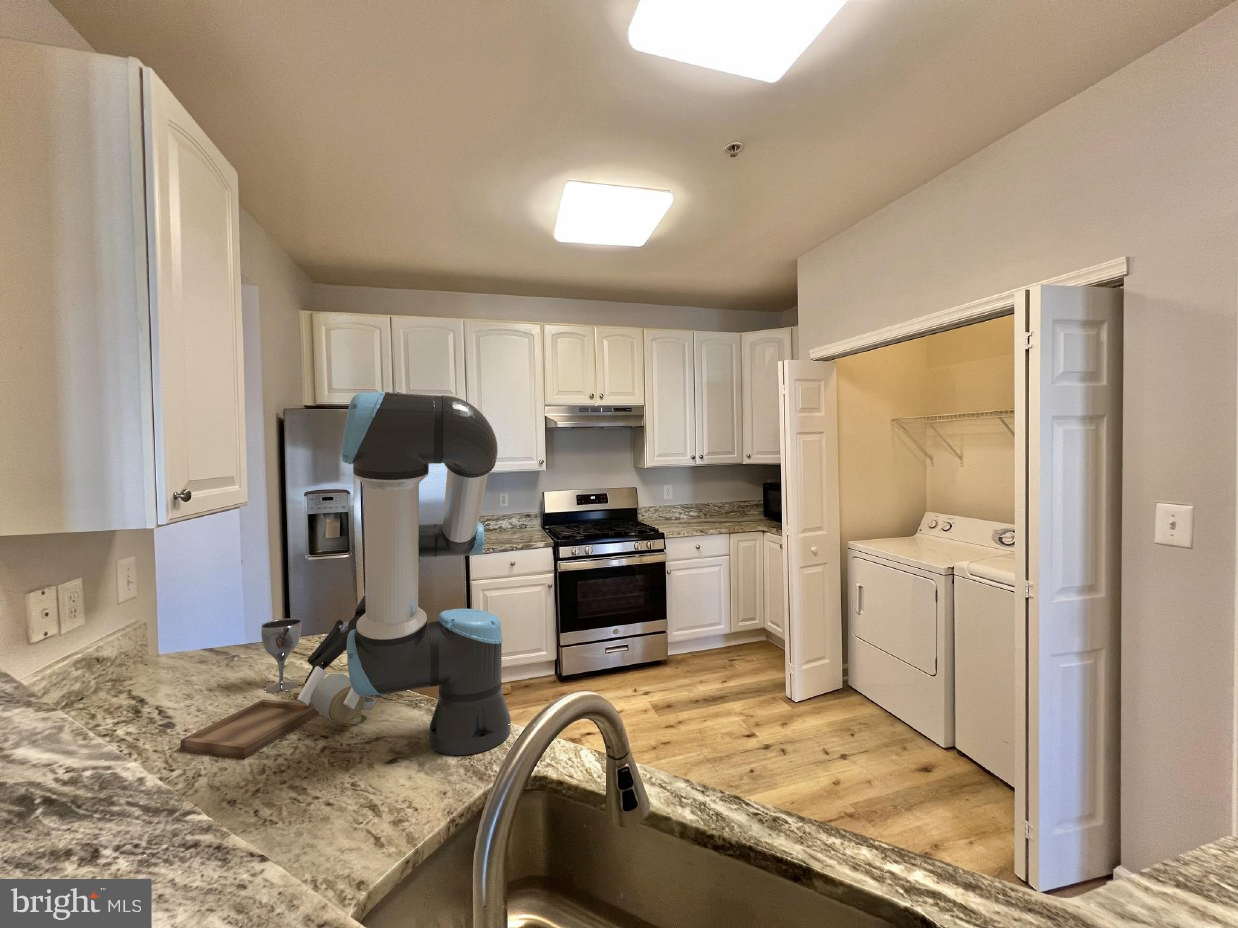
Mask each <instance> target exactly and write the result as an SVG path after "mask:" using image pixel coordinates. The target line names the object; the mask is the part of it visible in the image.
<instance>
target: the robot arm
mask: <svg viewBox="0 0 1238 928" xmlns="http://www.w3.org/2000/svg"><path fill="white" fill-rule="evenodd" d="M342 438H343V440H342V446H341V447H342V448H341V450H342V454H341V455H342V456H341V459H342V462H343V463H345V464H347V465H352V466H353V467H352V471H353V476H354V477H355V478H356V479H357V480H359V481H360V482H361V483H362V485H363V493H364V494H363V502H364V504H363V505H364V508H363V510H364V512H363V514H364V515H363V516H364V519H363V520H364V521H363V523H364V574H365V575H364V576H365V577H364V580H365V581H364V583H365V592H364V595H363V596H362V597H361V599H360V601H359V603H358V605H357V606H356V608H355V610H354V611H355V613H354V615H353V617H352V618H351V619H350V620H349V621H343V620H342V619H338V620H337V621H336V622H335V624H334V625H333V627H332V630H330V632H329V633H328V634H327V635H326V636H325V638H324V639H323V640H322V641H321V642H320V644H319V645H318V646H317V647H316V648H315V650H314V651H313V652H312V653H311V654H310V656H309V657H308V658H307V660H306V662H307V663H308V664H309V665H310V666H312V668H311V669H310V671H309V673H308V675H307V676H306V678H305V680H304V684H305V685H304V687H303V688H302V690H301V691H300V693H299V695H298V697H297V698H296V700H297V701H299V703H303V704H304V705H309V704H311V703H310V702H312V694H313V691H314V689H315V687H316V686H317V684H318V683H319V682H320V681H321V680H322V679H324V678H325V677H326V674H327V672H326V669H327V668H328V667H329V666H330V665H331V664H332V663H333V662H334V661H335V660H337V658H338V657H340V656H341V655H342V654H343V653H345V651H346V656H347V661H346V662H347V671H348V677H349V678H350V682H351V686H352V687H351V689H350V691H349V693H348V695H347V697H346V699H345V701H344V703H343V704H345V705H346V706H347V707H348V708H350V709H353V710H354V708H355V706H356V704H357V702H358V700H359V698H360V696H369V697H371V696H385V695H387V694H388V695H389V694H393V693H399V692H406V691H414V690H420V689H425V688H433V687H438V697H437V701H436V704H435V708H434V711H433V714H432V717H431V720H430V723H429V727H428V744H429V746H430V747H431V749H433V750H434V751H436V752H438V753H441V754H444V755H451V756H464V755H465V756H467V755H473V754H477V753H482V752H484V751H489V750H491V749H492V748H495V747H497V746H498V745H500V744H502V743H503V742H504V741H506V739H507V738H508V737H509V736H510V733H511V731H512V730H511V729H512V728H511V724H512V723H511V720H512V719H511V714H510V711H509V708H508V704H507V701H506V700H505V696H504V694H503V691H502V690H503V689H502V685H503V684H502V664H503V663H502V655H503V654H502V647H503V646H502V643H503V641H504V639H503V635H502V623H501V622H502V621H501V620H500V618H499V617H498V616H497V615H496V614H494V613H492V612H490V611H485V610H480V609H475V608H452V609H446V610H444V611H443V610H442V611H441V612H440V613H439V616H438V617H437V620H432V621H431V620H430V621H428V616H427V613H426V611H425V610H424V609H422V608H421V607H419V565H420V564H421V560H422V559H423V558H424V559H425V558H438V557H456V556H457V557H458V556H459V557H460V556H463V557H468V556H471V555H479V554H482V552H483V551H484V549H485V540H486V539H485V527H484V524H483V523H481V522H479V521H480V520H479V519H480V516H481V511H482V505H483V501H484V495H485V490H486V485H487V480H488V475H489V474H490V473H491V472H492V471H493V469H494V468H495V465H496V462H497V458H498V441H497V437H496V434H495V432H494V429H493V427H492V425H491V423H490V421H488V418H486V416H484V414H483V413H482V412H481V411H480V410H478V408H476V407H475V406H474V405H472V404H471V403H469V402H468V401H466V400H464V399H461V398H459V397H456V396H454V395H453V396H452V395H445V394H443V395H434V394H432V395H431V394H417V393H416V394H415V393H403V392H389V391H374V392H370V391H369V392H365V391H364V392H359V393H356V394H355V395H354V396H353V397H352V398H351V399H350V402H349V405H348V409H347V413H346V418H345V422H344V430H343V437H342ZM431 464H437V465H438V464H444V466H445V467H446V483H445V492H444V493H445V494H444V504H443V516H442V523H427V524H426V523H425V524H424V523H423V524H419V523H420V518H419V517H420V483H421V482H422V481H423V480H424V479H425V478H426V477H427V476H429V473H430V472H429V470H430V469H429V468H430V467H429V466H430V465H431ZM508 724H510V725H508Z"/></svg>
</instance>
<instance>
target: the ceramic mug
mask: <svg viewBox="0 0 1238 928" xmlns="http://www.w3.org/2000/svg"><path fill="white" fill-rule="evenodd" d="M351 687H352V686H351V682H350V678H349V676H347V675H346V674H344V673H332V674H329V675H327V676H324V678H323V679H322V680H321V681H320V682H319V683H318V684H317V686H316V687H315V689H314V691H313V694H312V699H311V704H312V705H313V707H314V709H315V710H316V711H318V712H319V713H320V715H322V717H325V718H326V719H327V720H329V721H331V722H332V723H335V724H345V723H348V722H350V721H352V720H354V719H356V717H357V716H358V715H359V714H360V713H361V712H362V711H372V710H373V709H374V708H375V706H376V703H377V701H376V699H374V698H373V697H371V696H360V698H359V700H358V702H357V704H356V706H355V708H354V710H353V709H350V708H348V707H347V706H346V705H345V704H343V703H344V701H345V699H346V697H347V695H348V693H349V691H350V689H351Z"/></svg>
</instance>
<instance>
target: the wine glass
mask: <svg viewBox="0 0 1238 928" xmlns="http://www.w3.org/2000/svg"><path fill="white" fill-rule="evenodd" d="M260 628H261V629H260V630H261V631H260V633H261V634H260V636H261V641H262V646H263V649H264V651H266V653H268V654H269V655H270V656H271V657H272V658H273V659H274V660H275V661H276V663H277V665H278V675H279V676H278V677H279V678H278V681H277V682H273V683H270V684H271V685H270V684H269V686H268V685H267V687H266V686H265V687H266V689H264V688H263V689H264V691H266V694H276V693H282V692H283V691H284V692H287V691H290V690H292V688H293V689H295V688H297V687H298V686H299V684H300V682H299V681H298V680H292V679H291V680H284V668H285V663H286V660H287V658H288V657H289V656H290V655H291V653H293V651H294V650H295V649H296V648H297V646H298V644H299V642H300V640H301V639H300V638H301V633H302V619H300V618H294V617H293V618H292V617H291V618H281V619H275V620H271V621H267V622H265V623H263V624H261V627H260Z"/></svg>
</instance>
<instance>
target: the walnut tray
mask: <svg viewBox="0 0 1238 928" xmlns="http://www.w3.org/2000/svg"><path fill="white" fill-rule="evenodd" d="M320 715H321V714H320V713H319V712H318V711H316V710H315V709H314V707H313V705H312V703H309V705H304V704H303V703H301V702H293V701H283V700H274V699H260V700H259V701H258V702H254V703H253V704H251V705H249V706H247V707H245V708H243V709H241V710H238V711H237V712H235V713H232V714H230V715H228V716H226V717H224V718H222V719H221V720H219V721H216V722H214V723H211V724H210V725H208V726H206V727H204V728H201V729H200V730H197V731H195V732H193V733H191V734H190V735H187V736H186V737H184V738H181V739H180V752H186V753H187V752H188V753H194V754H200V755H201V754H202V755H211V756H217V757H224V758H225V757H226V758H232V759H233V758H234V759H241V760H246V759H247V758H249V757H251V756H252V755H255V754H256V753H257V752H259V751H260V750H259V749H261V748H263V747H264V746H266V745H268V744H269V743H271V742H273V741H274V740H276V739H278V738H279V739H281V738H282V736H283V737H284V736H286V735H287V734H286V733H288V734H290V733H291V732H293V731H295V730H296V729H298V728H300V727H301V726H302V725H304V723H305V724H306V723H308V722H309V721H311V720H313V719H315V718H317V717H318V716H320ZM299 726H300V727H299ZM295 728H296V729H295ZM294 729H295V730H294ZM292 730H293V731H292ZM290 731H291V732H290ZM285 734H286V735H285ZM280 737H281V738H280ZM279 739H278V740H279ZM276 741H277V740H276ZM274 742H275V741H274ZM274 742H273V743H274ZM271 744H272V743H271ZM269 745H270V744H269ZM269 745H268V746H269ZM266 747H267V746H266ZM264 748H265V747H264ZM264 748H263V749H264ZM258 750H259V751H258ZM261 750H262V749H261ZM256 751H257V752H256ZM255 752H256V753H255Z"/></svg>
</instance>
